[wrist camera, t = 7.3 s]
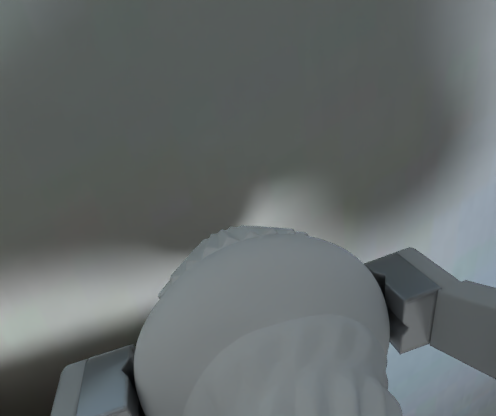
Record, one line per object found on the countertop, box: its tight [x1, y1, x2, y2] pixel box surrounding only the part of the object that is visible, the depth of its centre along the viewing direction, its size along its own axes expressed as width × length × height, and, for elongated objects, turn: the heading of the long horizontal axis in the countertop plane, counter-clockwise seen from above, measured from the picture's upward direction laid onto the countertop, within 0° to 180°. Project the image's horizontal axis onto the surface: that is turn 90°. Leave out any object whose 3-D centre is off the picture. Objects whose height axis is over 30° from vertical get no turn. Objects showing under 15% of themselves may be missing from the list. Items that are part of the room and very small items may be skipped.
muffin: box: [134, 225, 402, 416], centre depth 8 cm, size 6×6×7 cm
